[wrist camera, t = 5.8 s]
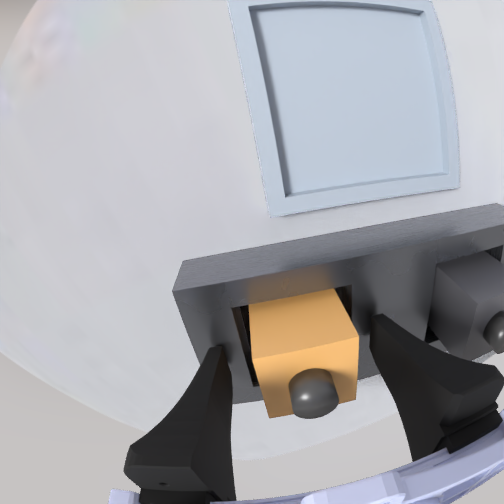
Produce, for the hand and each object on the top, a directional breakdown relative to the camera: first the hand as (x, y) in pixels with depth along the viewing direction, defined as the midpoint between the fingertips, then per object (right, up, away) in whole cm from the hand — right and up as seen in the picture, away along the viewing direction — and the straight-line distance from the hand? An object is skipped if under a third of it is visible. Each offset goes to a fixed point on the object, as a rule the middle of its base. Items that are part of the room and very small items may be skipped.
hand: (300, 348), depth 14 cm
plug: (0, +2, +3) cm, 4 cm away
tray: (+3, +12, -1) cm, 13 cm away
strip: (+5, +2, +3) cm, 6 cm away
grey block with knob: (+10, +3, +3) cm, 11 cm away
